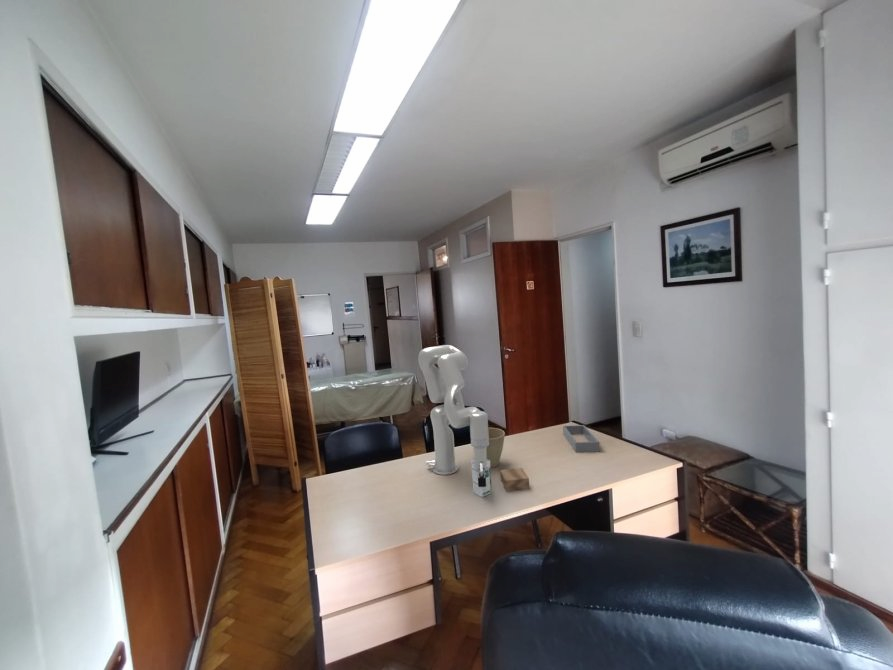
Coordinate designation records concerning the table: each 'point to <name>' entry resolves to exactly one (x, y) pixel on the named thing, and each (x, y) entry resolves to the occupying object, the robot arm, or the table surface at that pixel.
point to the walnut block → (514, 479)
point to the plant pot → (495, 445)
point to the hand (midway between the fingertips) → (481, 481)
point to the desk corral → (581, 446)
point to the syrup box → (488, 489)
